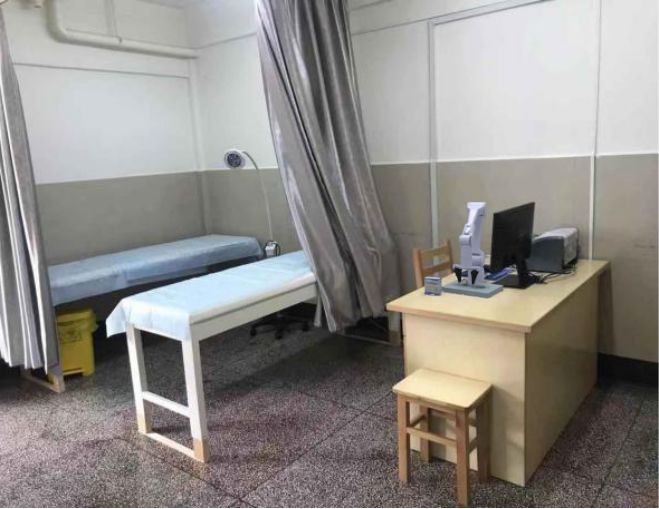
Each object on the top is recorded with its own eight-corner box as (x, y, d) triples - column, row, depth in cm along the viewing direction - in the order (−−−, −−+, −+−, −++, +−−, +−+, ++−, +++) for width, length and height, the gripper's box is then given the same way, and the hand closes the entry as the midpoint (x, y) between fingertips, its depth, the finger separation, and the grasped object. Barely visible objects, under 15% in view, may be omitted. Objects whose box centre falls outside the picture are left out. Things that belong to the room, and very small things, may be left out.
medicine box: (424, 294, 281) (424, 278, 280) (427, 292, 285) (426, 276, 284) (439, 295, 278) (439, 279, 276) (441, 293, 282) (441, 277, 280)
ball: (465, 277, 287) (470, 279, 284) (464, 283, 288) (469, 286, 285) (461, 277, 285) (465, 279, 283) (459, 283, 286) (464, 286, 283)
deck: (440, 291, 285) (440, 286, 285) (457, 284, 299) (457, 279, 298) (488, 298, 269) (488, 293, 268) (503, 290, 282) (503, 285, 281)
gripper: (449, 257, 284) (450, 283, 286) (475, 260, 275) (475, 286, 277) (456, 255, 289) (456, 280, 292) (482, 257, 280) (482, 283, 282)
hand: (466, 283), depth 285 cm, fingers open, 7 cm apart
